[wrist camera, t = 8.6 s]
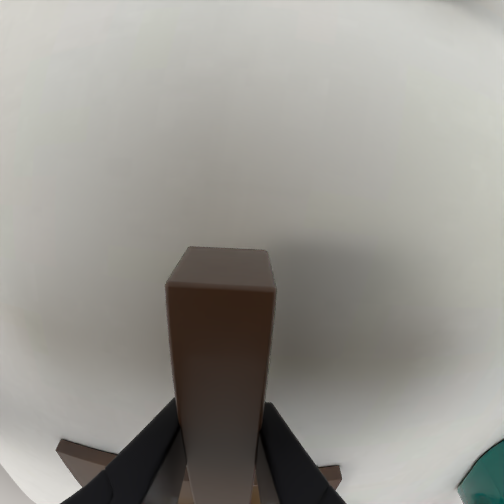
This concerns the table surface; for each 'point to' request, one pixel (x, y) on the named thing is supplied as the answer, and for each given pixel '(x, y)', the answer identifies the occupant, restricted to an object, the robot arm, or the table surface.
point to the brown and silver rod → (221, 364)
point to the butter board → (93, 461)
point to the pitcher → (485, 479)
